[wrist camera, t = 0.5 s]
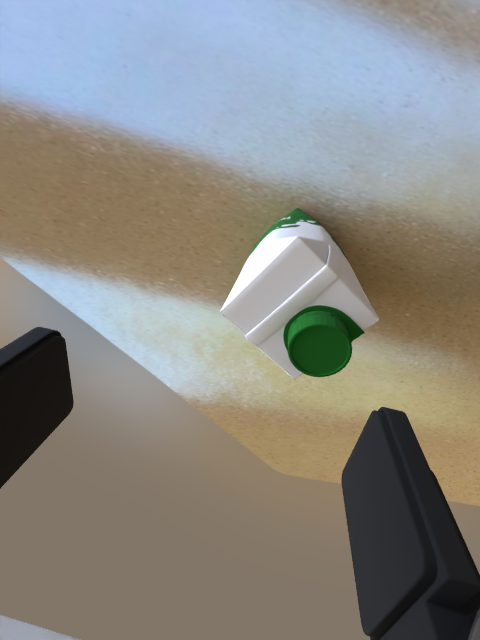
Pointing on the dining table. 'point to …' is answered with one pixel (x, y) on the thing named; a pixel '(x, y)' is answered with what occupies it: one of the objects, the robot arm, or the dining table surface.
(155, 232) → the dining table surface
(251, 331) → the milk carton
